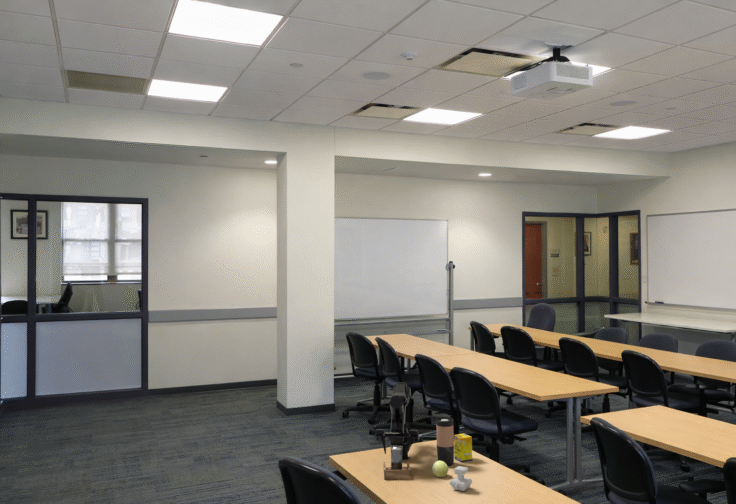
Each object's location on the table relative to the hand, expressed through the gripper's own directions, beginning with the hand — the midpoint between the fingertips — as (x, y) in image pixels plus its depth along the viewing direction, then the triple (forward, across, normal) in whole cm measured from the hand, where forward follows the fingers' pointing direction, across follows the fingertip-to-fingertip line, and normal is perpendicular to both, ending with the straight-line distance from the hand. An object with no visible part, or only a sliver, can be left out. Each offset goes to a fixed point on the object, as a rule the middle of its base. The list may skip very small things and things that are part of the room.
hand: (396, 453), depth 251 cm
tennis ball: (+6, -18, -7) cm, 21 cm away
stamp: (+16, -27, +3) cm, 31 cm away
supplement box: (-9, -29, -22) cm, 37 cm away
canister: (+5, 0, -7) cm, 8 cm away
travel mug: (-4, -21, -18) cm, 28 cm away
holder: (+6, 0, -7) cm, 9 cm away
